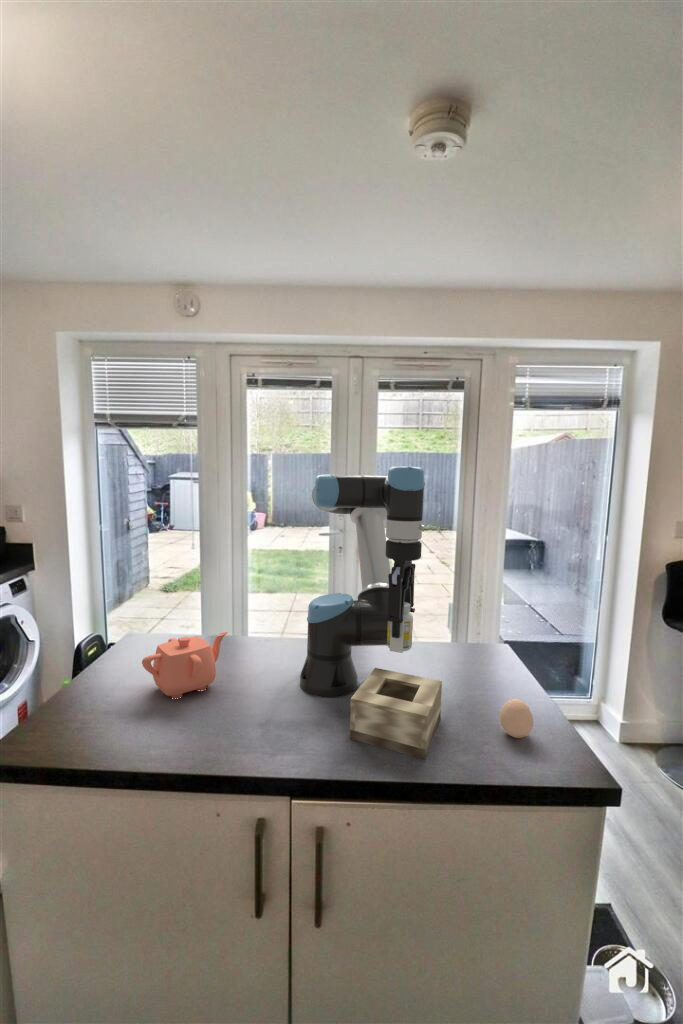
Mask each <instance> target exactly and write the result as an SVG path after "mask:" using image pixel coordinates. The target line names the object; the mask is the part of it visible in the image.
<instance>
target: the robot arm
mask: <svg viewBox="0 0 683 1024" xmlns="http://www.w3.org/2000/svg"><path fill="white" fill-rule="evenodd" d="M314 483H315V484H314V486H313V489H312V492H311V499H312V501H313V503H314V505H315V506H316V508H318V509H320V510H322V511H325V512H327V513H330V514H331V513H332V514H337V515H338V514H339V515H349V516H350V520H351V521H352V523H353V524H355V527H356V538H357V547H358V548H357V549H358V559H359V568H360V579H361V591H360V592H358V595H357V600H354V598H353V596H352V595H350V594H348V593H341V592H340V593H339V592H336V593H335V592H334V593H329V594H328V593H327V594H324V595H323V594H322V595H319V596H317V597H315V598H314V599H312V600H311V601H310V602H309V603H308V608H307V617H306V621H307V643H306V644H307V645H306V647H307V648H306V650H307V651H306V657H305V660H304V663H303V666H302V669H301V672H300V675H299V684H300V688H301V690H303V692H305V693H306V694H309V695H312V696H314V697H318V698H327V699H328V698H330V699H331V698H339V697H340V698H341V697H343V696H347V695H349V694H351V693H352V692H354V691H355V690H356V689H357V686H358V674H357V670H356V668H355V664H354V660H353V656H352V647H365V646H366V647H368V646H369V647H371V646H372V647H373V646H375V647H376V646H387V633H388V621H391V624H390V648H389V652H393V653H400V654H403V653H404V651H403V640H404V621H403V612H404V602H407V603H410V612H409V613H413V614H414V613H415V612H416V608H414V606H415V603H414V602H415V601H414V600H415V597H414V596H415V575H416V574H415V572H416V571H415V570H416V566H417V565H416V563H413V561H418V560H420V559H421V558H422V545H423V544H422V542H421V539H422V537H423V530H425V528H426V526H425V525H424V524H423V514H424V513H423V512H424V494H425V493H424V491H425V489H424V488H425V486H426V483H425V472H424V469H423V468H422V467H419V466H391V467H390V468H389V469H388V473H387V475H364V474H363V475H354V474H351V475H350V474H333V473H328V474H318V475H317V476H316V477H315V482H314ZM385 520H386V523H384V521H385ZM385 525H386V526H385ZM385 528H386V529H385ZM390 560H393V566H392V567H391V565H390ZM387 647H388V646H387Z"/></svg>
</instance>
